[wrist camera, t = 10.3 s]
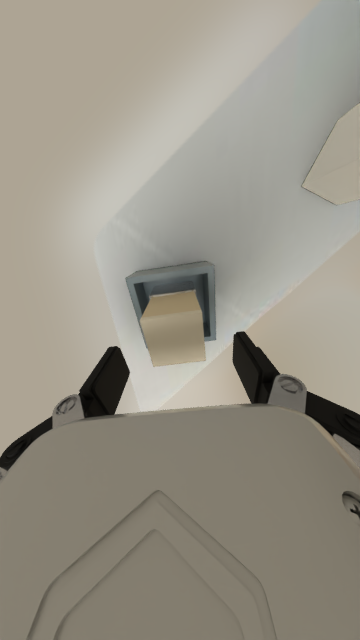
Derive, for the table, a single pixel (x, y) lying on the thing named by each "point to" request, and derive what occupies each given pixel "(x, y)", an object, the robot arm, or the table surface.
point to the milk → (338, 162)
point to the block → (172, 289)
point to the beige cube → (174, 329)
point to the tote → (195, 272)
